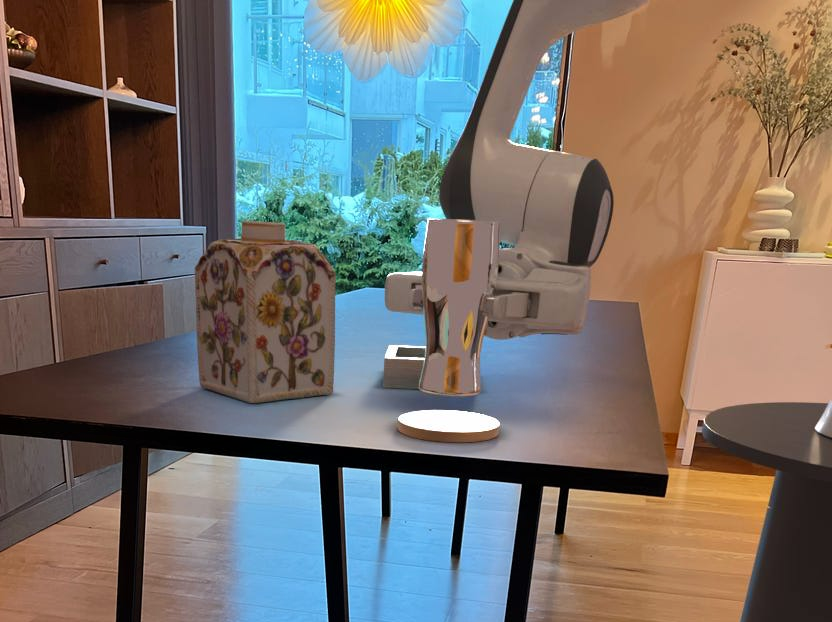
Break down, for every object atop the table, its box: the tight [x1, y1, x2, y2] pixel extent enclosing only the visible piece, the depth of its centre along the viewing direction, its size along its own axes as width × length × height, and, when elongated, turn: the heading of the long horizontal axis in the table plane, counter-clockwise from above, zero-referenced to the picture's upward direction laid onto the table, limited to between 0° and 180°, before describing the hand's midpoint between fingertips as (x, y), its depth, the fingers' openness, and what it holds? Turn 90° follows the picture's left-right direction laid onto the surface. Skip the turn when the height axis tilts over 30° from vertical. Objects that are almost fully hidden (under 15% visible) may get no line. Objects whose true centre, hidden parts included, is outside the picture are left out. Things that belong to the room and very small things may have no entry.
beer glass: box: [418, 218, 501, 397], centre depth 84 cm, size 7×7×15 cm
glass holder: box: [382, 344, 425, 390], centre depth 113 cm, size 11×11×4 cm
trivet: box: [397, 409, 501, 443], centre depth 88 cm, size 10×10×1 cm
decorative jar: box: [194, 220, 337, 405], centre depth 100 cm, size 12×12×18 cm
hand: (452, 303), depth 83 cm, fingers closed on beer glass, 6 cm apart
